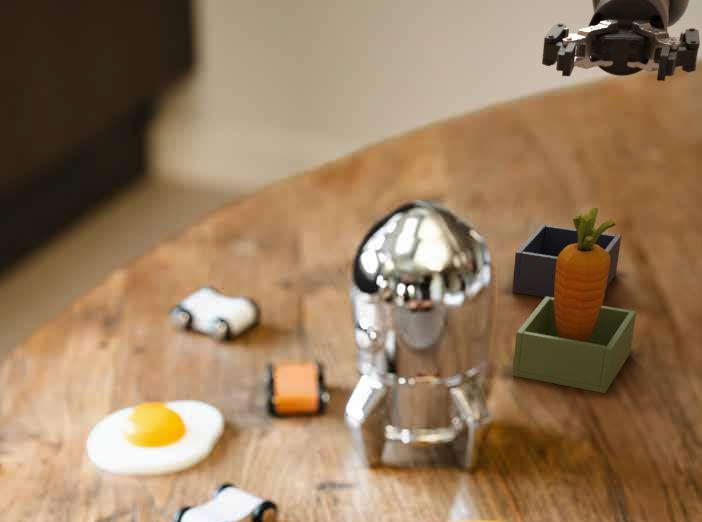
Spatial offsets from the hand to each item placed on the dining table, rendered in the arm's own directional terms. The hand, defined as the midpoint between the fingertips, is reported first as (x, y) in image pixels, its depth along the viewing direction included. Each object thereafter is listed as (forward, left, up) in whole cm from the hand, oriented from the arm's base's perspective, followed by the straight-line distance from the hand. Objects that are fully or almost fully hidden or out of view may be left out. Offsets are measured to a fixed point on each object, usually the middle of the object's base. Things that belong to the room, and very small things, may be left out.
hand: (614, 67), depth 110 cm
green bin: (-1, +8, -26) cm, 27 cm away
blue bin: (+5, -11, -26) cm, 29 cm away
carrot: (-1, +8, -26) cm, 27 cm away
